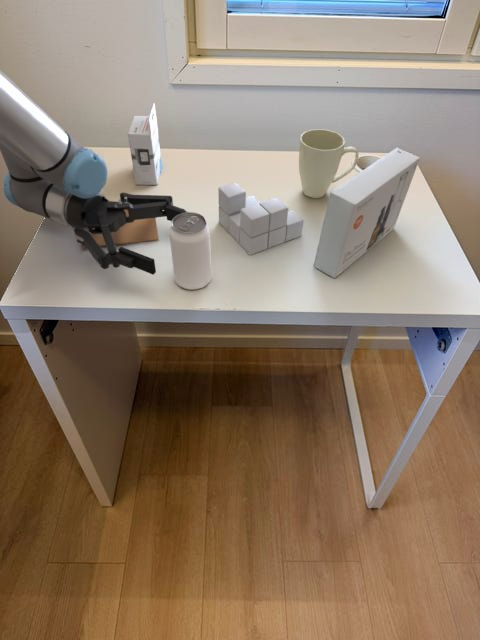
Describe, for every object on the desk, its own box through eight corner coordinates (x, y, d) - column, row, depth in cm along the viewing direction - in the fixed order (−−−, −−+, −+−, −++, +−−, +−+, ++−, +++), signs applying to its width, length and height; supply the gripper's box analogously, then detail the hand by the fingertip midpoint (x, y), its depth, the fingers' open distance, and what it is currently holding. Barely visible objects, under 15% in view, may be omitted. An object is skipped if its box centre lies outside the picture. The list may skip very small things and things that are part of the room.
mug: (317, 210, 97) (326, 157, 89) (285, 189, 103) (290, 137, 94) (352, 193, 102) (364, 140, 93) (320, 174, 107) (328, 122, 98)
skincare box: (336, 281, 83) (355, 204, 71) (312, 267, 85) (325, 190, 74) (397, 229, 93) (421, 155, 82) (373, 218, 96) (394, 144, 84)
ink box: (141, 165, 108) (131, 100, 97) (162, 165, 108) (155, 101, 97) (135, 185, 103) (124, 118, 92) (157, 185, 103) (149, 119, 92)
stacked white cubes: (301, 236, 91) (307, 201, 86) (249, 255, 87) (251, 220, 81) (268, 205, 98) (270, 171, 92) (218, 222, 94) (218, 187, 88)
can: (218, 275, 83) (217, 219, 74) (197, 296, 80) (193, 240, 71) (189, 262, 86) (184, 206, 77) (167, 282, 82) (159, 225, 73)
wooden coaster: (83, 248, 88) (83, 247, 87) (85, 206, 97) (84, 205, 97) (158, 240, 90) (158, 239, 89) (152, 199, 99) (152, 198, 99)
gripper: (124, 193, 96) (214, 223, 89) (35, 263, 80) (135, 305, 74) (118, 159, 90) (213, 189, 84) (21, 227, 75) (128, 270, 68)
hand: (177, 243), depth 79 cm, fingers open, 13 cm apart
